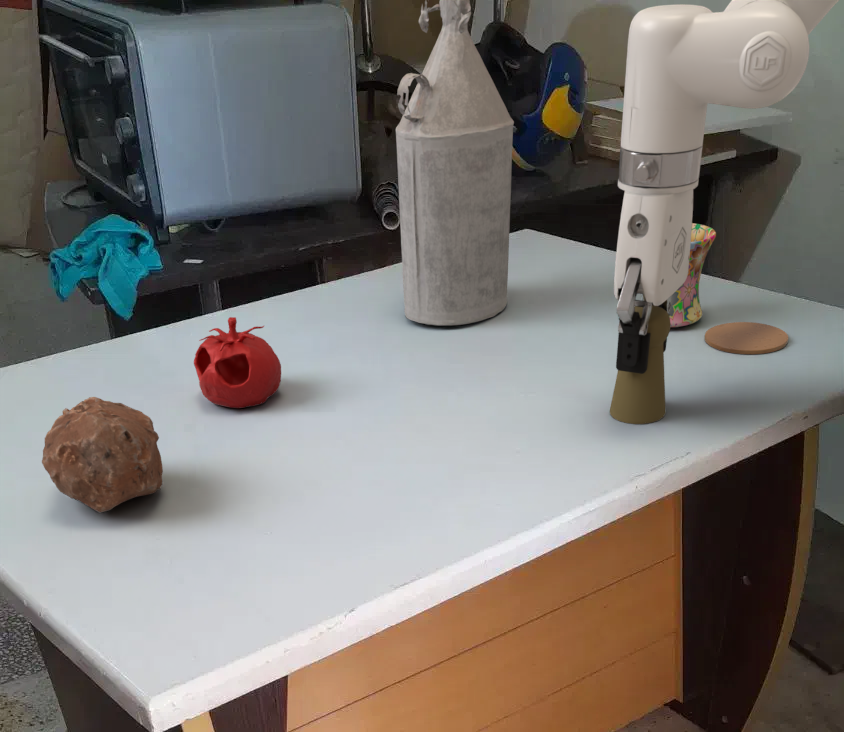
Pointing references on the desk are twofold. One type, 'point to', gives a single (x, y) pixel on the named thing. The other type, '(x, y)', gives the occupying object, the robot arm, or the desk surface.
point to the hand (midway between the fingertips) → (641, 359)
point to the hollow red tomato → (237, 368)
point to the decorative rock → (103, 454)
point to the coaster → (746, 338)
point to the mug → (691, 279)
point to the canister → (454, 181)
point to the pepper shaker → (644, 378)
